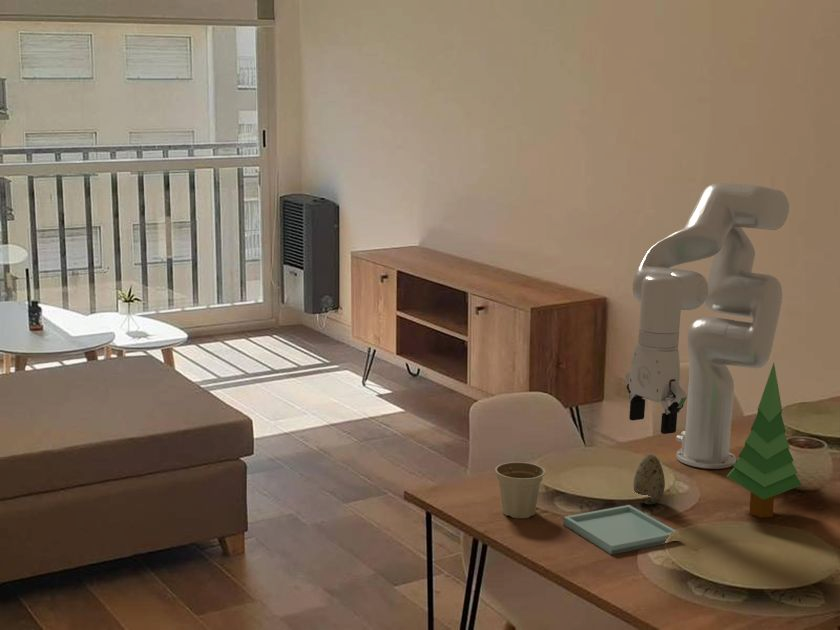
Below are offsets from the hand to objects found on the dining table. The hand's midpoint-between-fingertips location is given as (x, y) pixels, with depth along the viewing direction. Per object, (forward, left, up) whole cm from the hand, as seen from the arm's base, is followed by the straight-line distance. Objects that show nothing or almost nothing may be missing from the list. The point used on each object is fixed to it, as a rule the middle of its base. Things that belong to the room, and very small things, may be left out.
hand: (652, 426), depth 227 cm
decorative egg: (0, 0, -16) cm, 16 cm away
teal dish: (+10, -14, -16) cm, 23 cm away
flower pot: (-6, -26, -16) cm, 31 cm away
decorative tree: (+13, +17, -16) cm, 27 cm away
